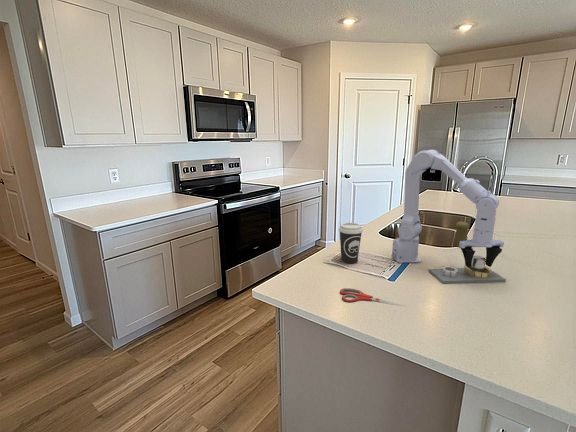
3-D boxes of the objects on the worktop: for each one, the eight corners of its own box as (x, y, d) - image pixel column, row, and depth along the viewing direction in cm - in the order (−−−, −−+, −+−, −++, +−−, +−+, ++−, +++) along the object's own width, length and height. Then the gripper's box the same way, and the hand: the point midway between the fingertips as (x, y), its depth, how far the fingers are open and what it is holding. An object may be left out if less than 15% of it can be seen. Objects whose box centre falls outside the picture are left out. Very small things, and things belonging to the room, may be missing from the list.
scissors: (410, 310, 91) (411, 305, 91) (338, 302, 96) (338, 298, 95) (406, 297, 98) (407, 292, 98) (340, 291, 103) (340, 287, 102)
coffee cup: (363, 258, 128) (365, 223, 125) (358, 266, 120) (360, 230, 116) (341, 254, 132) (342, 221, 128) (334, 263, 124) (335, 227, 120)
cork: (469, 248, 138) (472, 224, 135) (454, 247, 139) (457, 223, 136) (464, 243, 144) (468, 220, 141) (450, 242, 145) (453, 220, 142)
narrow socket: (446, 277, 108) (446, 272, 107) (438, 271, 113) (439, 266, 112) (460, 277, 108) (461, 271, 108) (452, 271, 113) (453, 266, 112)
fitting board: (442, 283, 106) (442, 281, 105) (428, 271, 115) (428, 268, 115) (505, 281, 106) (505, 279, 106) (486, 269, 116) (486, 267, 116)
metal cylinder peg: (474, 276, 109) (477, 260, 107) (467, 271, 113) (469, 255, 111) (485, 275, 109) (488, 259, 107) (478, 270, 113) (480, 255, 111)
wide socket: (472, 278, 107) (473, 273, 106) (459, 269, 114) (460, 264, 114) (495, 278, 107) (496, 272, 106) (480, 268, 115) (481, 263, 114)
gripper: (470, 233, 102) (464, 271, 106) (512, 232, 103) (506, 270, 106) (457, 227, 109) (453, 263, 113) (498, 226, 110) (492, 262, 113)
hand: (478, 266), depth 110 cm, fingers open, 7 cm apart
